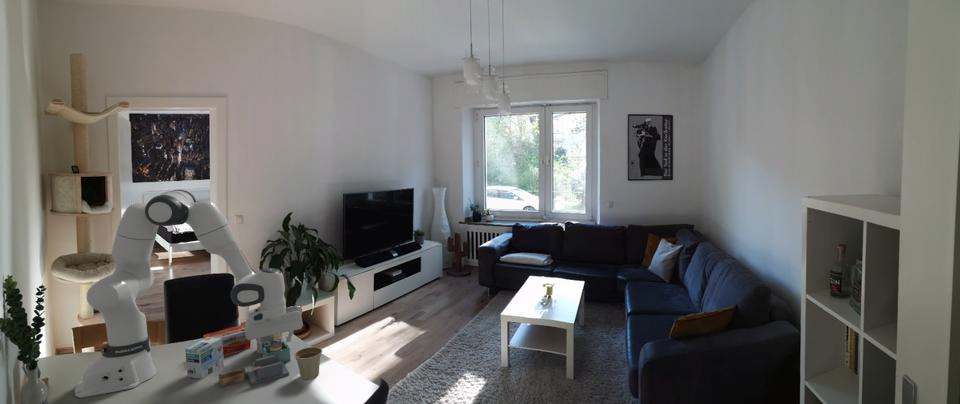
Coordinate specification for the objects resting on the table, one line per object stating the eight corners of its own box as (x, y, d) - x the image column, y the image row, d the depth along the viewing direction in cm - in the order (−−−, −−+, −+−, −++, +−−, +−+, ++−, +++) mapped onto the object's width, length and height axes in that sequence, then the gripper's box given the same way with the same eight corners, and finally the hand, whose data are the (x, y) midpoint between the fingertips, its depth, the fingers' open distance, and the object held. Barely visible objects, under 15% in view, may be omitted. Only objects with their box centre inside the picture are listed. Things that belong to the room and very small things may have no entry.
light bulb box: (202, 379, 161) (200, 350, 160) (186, 377, 162) (183, 348, 161) (225, 365, 171) (222, 337, 170) (209, 363, 173) (207, 336, 171)
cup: (267, 366, 169) (266, 354, 169) (263, 358, 176) (262, 346, 175) (290, 360, 174) (289, 348, 174) (285, 352, 181) (284, 341, 180)
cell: (269, 357, 175) (268, 339, 175) (280, 354, 178) (279, 336, 177) (271, 361, 172) (270, 342, 171) (283, 358, 174) (282, 340, 174)
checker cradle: (252, 385, 156) (251, 370, 156) (248, 374, 164) (247, 360, 163) (289, 375, 163) (288, 360, 163) (283, 365, 170) (282, 351, 170)
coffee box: (268, 343, 189) (265, 306, 187) (283, 343, 189) (280, 306, 187) (257, 353, 180) (254, 315, 178) (272, 353, 180) (270, 315, 178)
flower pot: (290, 375, 163) (289, 352, 162) (315, 366, 170) (314, 344, 169) (303, 384, 156) (301, 361, 155) (328, 374, 163) (327, 352, 162)
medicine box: (210, 360, 175) (208, 341, 174) (203, 354, 181) (202, 335, 180) (251, 348, 186) (250, 329, 185) (244, 342, 192) (242, 324, 191)
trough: (220, 387, 155) (220, 380, 155) (219, 381, 159) (218, 374, 159) (246, 380, 160) (246, 373, 159) (244, 374, 164) (244, 368, 163)
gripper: (299, 302, 181) (301, 335, 183) (242, 313, 169) (245, 348, 171) (303, 306, 176) (305, 340, 178) (245, 318, 164) (248, 354, 166)
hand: (275, 344), depth 174 cm, fingers open, 8 cm apart
